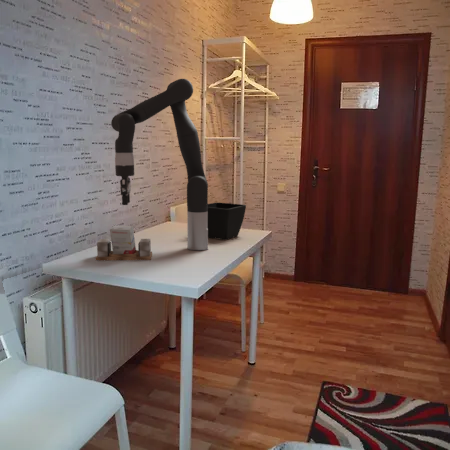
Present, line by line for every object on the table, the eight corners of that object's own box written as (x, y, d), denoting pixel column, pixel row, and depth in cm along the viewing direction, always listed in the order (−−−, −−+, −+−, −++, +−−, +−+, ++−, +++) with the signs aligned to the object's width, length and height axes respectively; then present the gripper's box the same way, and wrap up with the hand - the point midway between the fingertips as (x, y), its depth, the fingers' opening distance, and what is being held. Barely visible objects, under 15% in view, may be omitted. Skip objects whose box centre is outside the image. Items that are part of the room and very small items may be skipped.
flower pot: (227, 241, 220) (228, 208, 218) (196, 237, 230) (196, 205, 227) (246, 236, 236) (247, 204, 234) (216, 232, 246) (216, 202, 243)
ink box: (136, 251, 187) (133, 225, 182) (132, 256, 182) (129, 229, 178) (117, 250, 188) (114, 224, 184) (112, 255, 184) (109, 229, 179)
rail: (152, 254, 191) (151, 238, 190) (150, 259, 182) (150, 242, 180) (99, 255, 189) (99, 238, 188) (95, 260, 179) (95, 243, 178)
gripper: (117, 163, 187) (118, 202, 190) (113, 164, 173) (114, 206, 176) (135, 163, 188) (136, 201, 191) (132, 164, 174) (134, 205, 177)
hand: (126, 203), depth 183 cm, fingers open, 8 cm apart
